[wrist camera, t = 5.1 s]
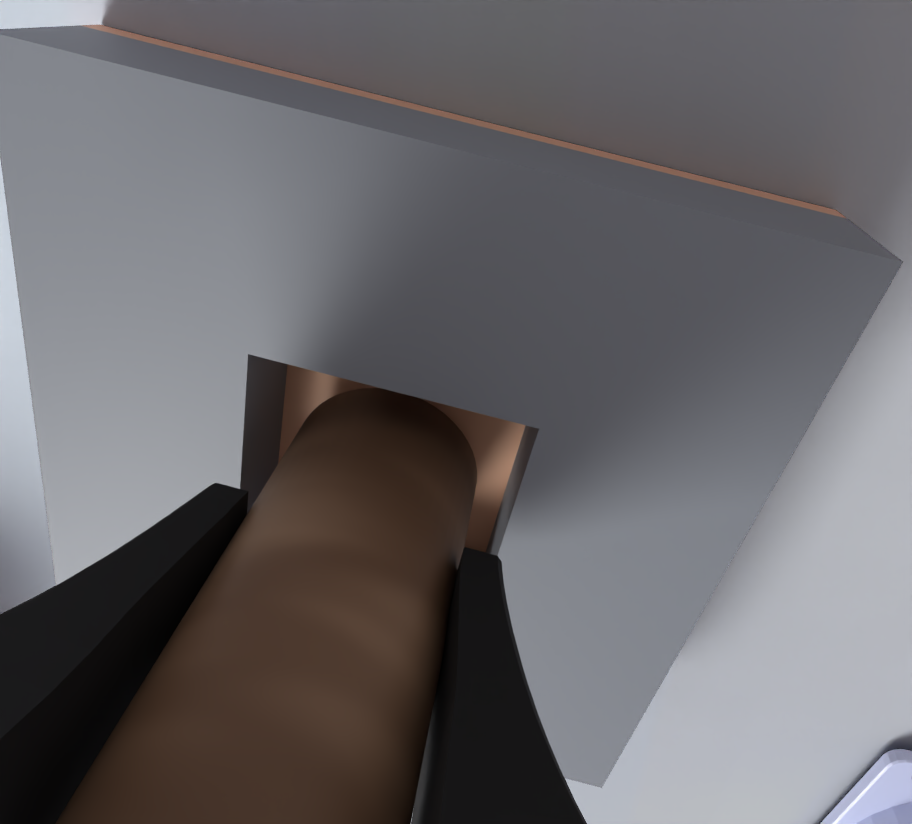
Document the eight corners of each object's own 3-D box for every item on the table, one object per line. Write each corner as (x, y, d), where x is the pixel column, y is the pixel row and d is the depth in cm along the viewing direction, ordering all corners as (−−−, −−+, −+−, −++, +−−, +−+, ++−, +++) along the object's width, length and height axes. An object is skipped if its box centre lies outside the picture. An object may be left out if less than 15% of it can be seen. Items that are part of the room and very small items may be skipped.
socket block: (835, 210, 13) (902, 261, 10) (597, 687, 20) (601, 787, 18) (99, 25, 13) (-17, 30, 10) (128, 565, 20) (63, 646, 18)
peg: (495, 414, 14) (403, 922, 6) (457, 556, 16) (354, 1064, 9) (302, 367, 14) (-14, 813, 6) (289, 515, 16) (39, 982, 9)
